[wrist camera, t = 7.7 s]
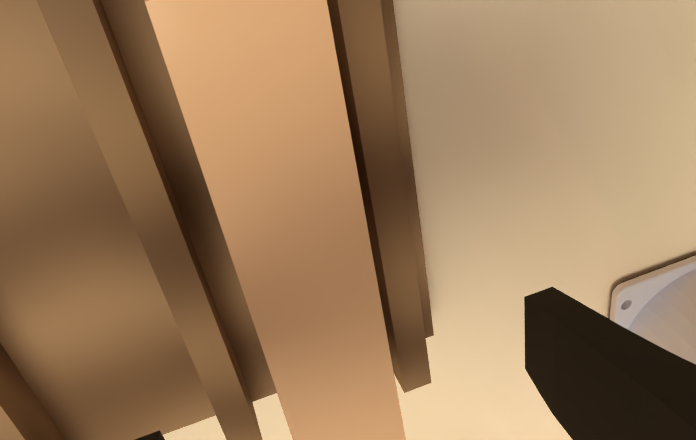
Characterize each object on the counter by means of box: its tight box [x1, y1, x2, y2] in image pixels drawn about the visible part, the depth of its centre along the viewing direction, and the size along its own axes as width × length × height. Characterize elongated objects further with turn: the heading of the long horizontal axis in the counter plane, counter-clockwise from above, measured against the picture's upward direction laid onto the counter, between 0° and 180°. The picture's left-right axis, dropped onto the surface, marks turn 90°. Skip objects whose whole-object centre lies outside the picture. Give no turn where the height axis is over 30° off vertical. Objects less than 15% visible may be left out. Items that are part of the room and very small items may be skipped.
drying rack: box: [0, 0, 434, 440], centre depth 18 cm, size 16×15×3 cm
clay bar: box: [144, 0, 406, 440], centre depth 17 cm, size 14×3×5 cm, turn 10°
